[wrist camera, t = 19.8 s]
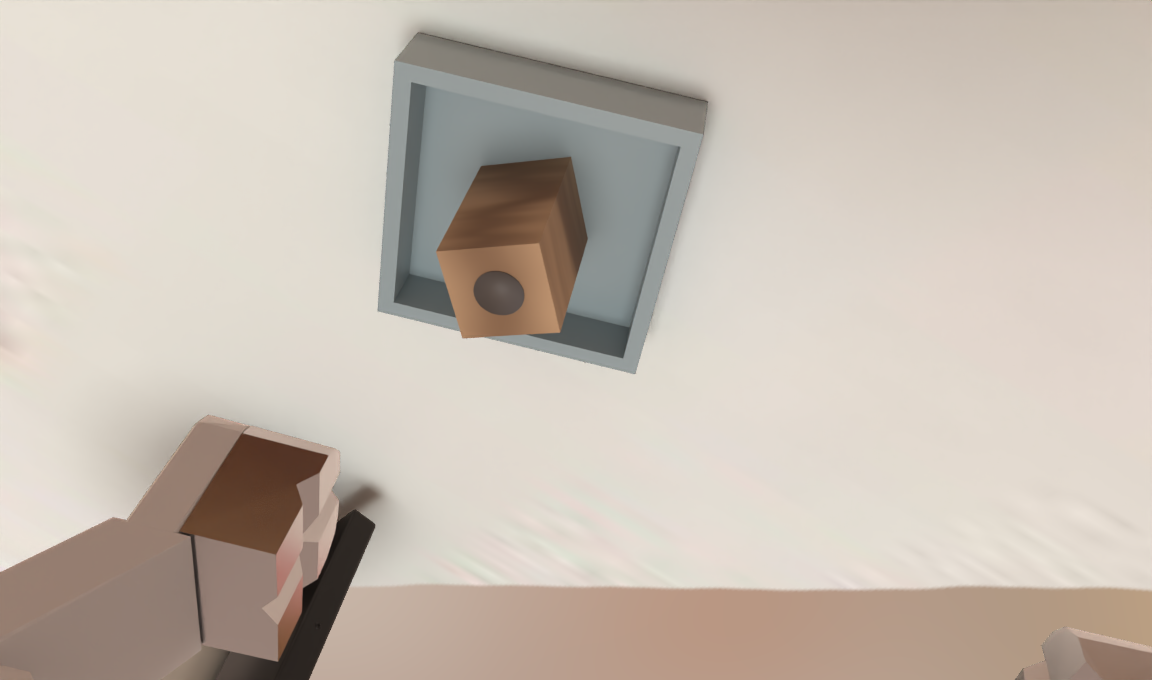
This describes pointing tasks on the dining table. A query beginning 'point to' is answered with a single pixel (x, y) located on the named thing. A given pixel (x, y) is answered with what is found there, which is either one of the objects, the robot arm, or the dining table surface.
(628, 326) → the tray
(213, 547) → the robot arm
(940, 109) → the dining table surface
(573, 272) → the walnut block
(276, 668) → the light fixture
